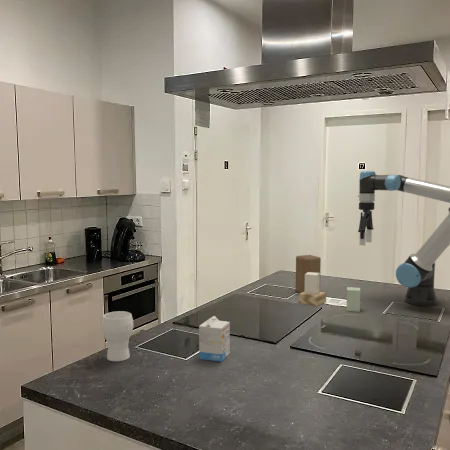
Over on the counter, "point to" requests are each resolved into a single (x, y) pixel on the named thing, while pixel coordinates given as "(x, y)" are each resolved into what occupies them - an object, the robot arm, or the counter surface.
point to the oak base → (312, 298)
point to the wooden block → (305, 269)
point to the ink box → (214, 340)
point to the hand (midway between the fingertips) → (365, 243)
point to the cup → (117, 334)
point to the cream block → (312, 283)
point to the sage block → (353, 299)
